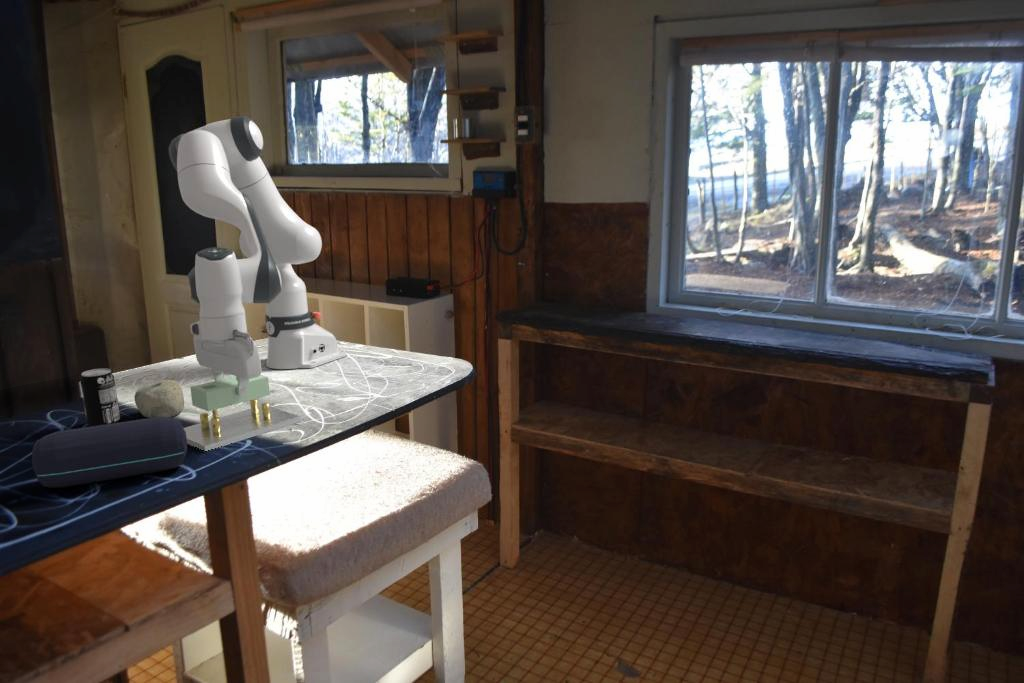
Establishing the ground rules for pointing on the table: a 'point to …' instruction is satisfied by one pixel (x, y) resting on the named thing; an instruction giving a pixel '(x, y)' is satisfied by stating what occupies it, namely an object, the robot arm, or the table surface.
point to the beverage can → (100, 397)
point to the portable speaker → (109, 451)
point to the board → (227, 392)
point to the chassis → (237, 426)
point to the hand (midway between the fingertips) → (231, 392)
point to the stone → (160, 399)
